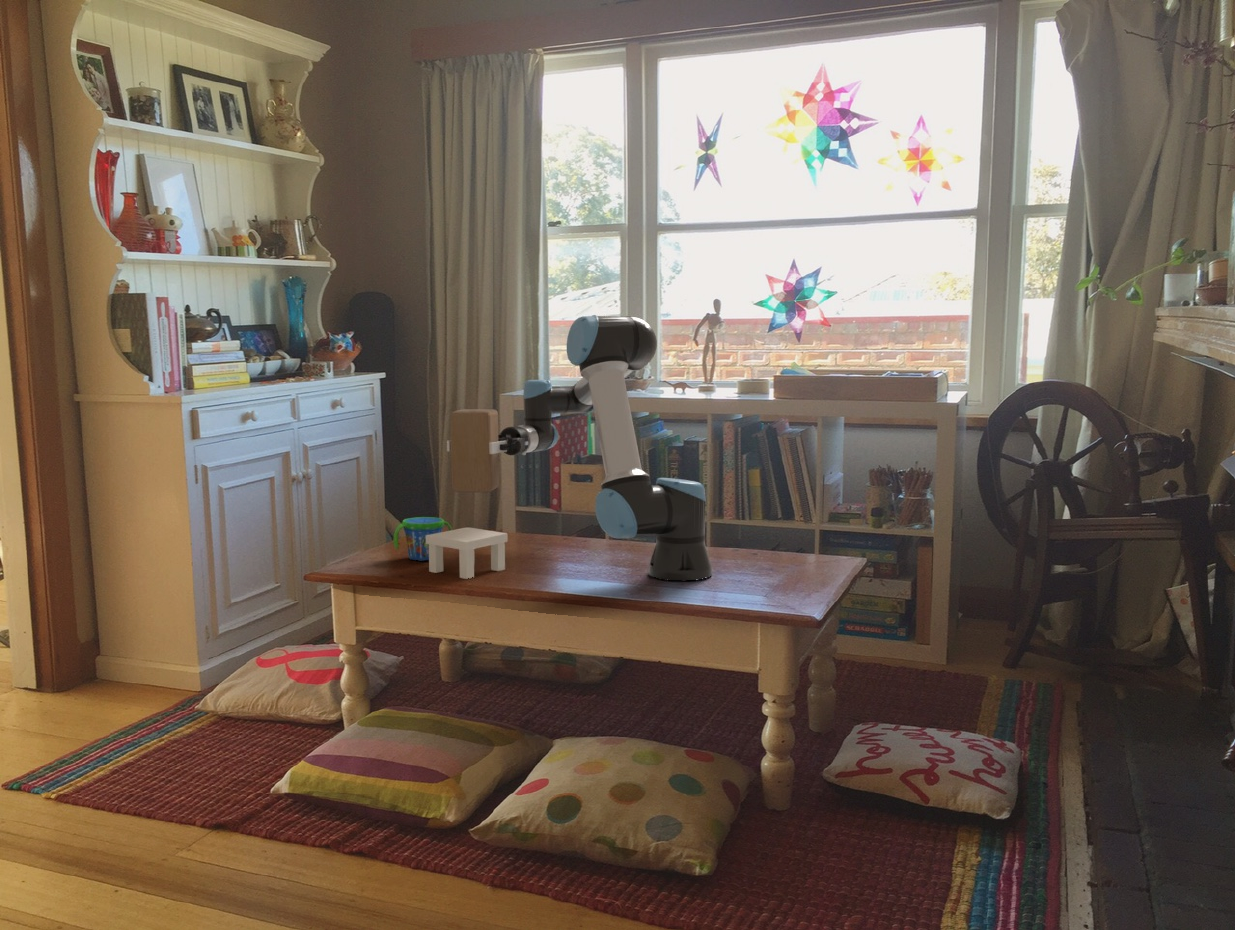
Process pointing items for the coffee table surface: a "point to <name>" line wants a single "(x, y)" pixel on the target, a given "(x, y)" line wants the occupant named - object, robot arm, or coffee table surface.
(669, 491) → the robot arm
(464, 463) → the block
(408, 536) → the snack cup
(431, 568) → the footstool
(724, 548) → the coffee table surface
